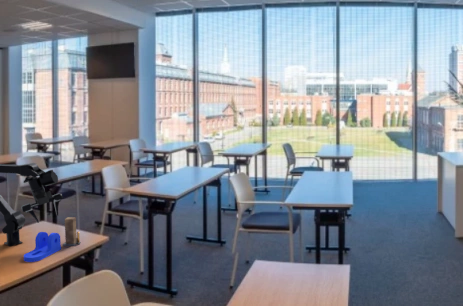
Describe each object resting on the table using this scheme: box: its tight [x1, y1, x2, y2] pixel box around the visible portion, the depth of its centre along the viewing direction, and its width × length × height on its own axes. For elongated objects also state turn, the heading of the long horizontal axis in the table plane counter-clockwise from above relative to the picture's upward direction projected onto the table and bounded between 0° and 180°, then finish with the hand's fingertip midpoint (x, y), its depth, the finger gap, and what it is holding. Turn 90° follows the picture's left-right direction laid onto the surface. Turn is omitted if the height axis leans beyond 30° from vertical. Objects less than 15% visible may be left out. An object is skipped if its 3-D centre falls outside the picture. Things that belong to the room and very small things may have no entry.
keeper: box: [62, 231, 82, 247], centre depth 221 cm, size 7×6×6 cm
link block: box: [64, 216, 77, 244], centre depth 221 cm, size 4×4×12 cm
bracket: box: [23, 231, 62, 263], centre depth 205 cm, size 18×8×9 cm, turn 167°
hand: (48, 219), depth 219 cm, fingers open, 9 cm apart
